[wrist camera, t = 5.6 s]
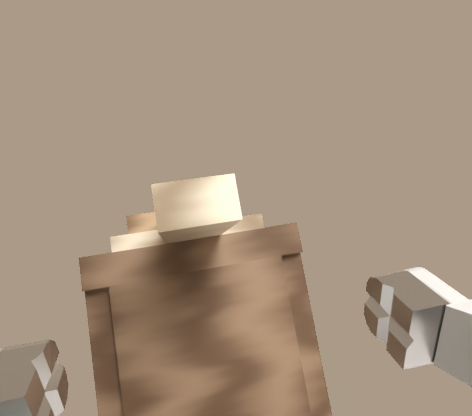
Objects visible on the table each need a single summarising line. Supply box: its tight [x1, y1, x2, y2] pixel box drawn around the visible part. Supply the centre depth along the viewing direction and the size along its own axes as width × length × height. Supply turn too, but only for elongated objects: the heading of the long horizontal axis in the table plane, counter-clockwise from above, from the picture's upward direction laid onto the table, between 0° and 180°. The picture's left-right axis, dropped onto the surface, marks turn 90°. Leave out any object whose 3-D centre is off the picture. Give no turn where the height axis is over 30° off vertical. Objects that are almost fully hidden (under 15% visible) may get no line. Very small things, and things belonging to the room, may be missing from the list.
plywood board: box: [110, 174, 264, 252], centre depth 28 cm, size 12×28×4 cm, turn 10°
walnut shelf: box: [79, 223, 332, 416], centre depth 30 cm, size 14×20×26 cm
